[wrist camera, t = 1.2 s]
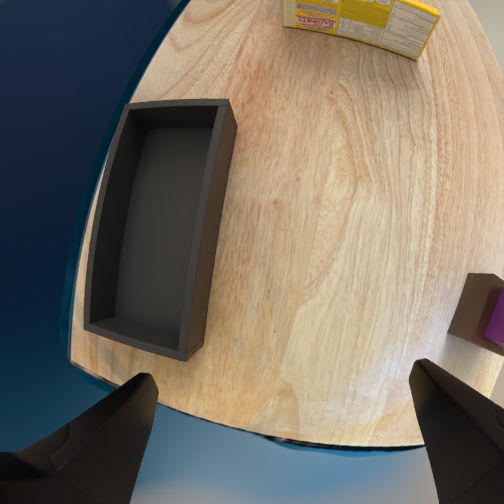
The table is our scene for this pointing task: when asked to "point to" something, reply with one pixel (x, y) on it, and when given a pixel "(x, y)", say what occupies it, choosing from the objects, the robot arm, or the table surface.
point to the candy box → (367, 21)
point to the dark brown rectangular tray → (159, 225)
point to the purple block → (497, 323)
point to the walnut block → (477, 310)
